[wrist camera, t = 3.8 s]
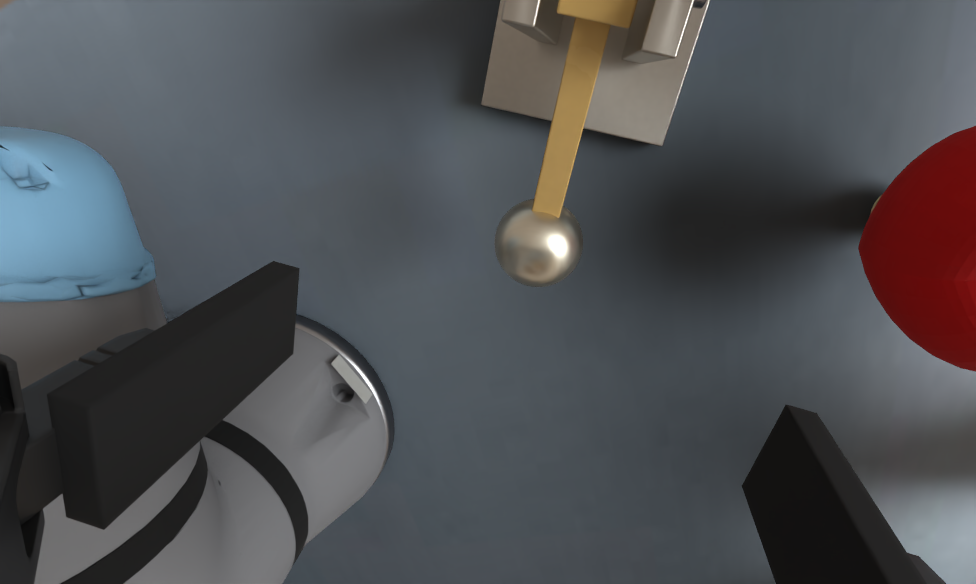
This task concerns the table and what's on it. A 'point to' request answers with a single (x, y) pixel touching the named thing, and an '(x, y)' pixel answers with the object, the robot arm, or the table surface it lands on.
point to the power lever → (560, 156)
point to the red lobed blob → (929, 249)
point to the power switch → (622, 73)
